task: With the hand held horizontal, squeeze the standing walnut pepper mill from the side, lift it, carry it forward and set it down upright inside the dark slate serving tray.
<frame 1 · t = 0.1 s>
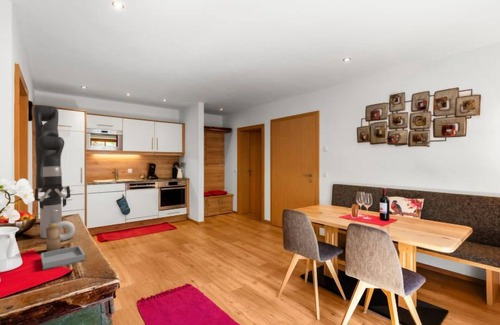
hand: (53, 207, 127), 17 cm above the table, tool pointing down, fingers open, 8 cm apart
donut: (63, 240, 130), on the table
tray: (63, 259, 104), on the table
pepper mill: (53, 250, 116), on the table
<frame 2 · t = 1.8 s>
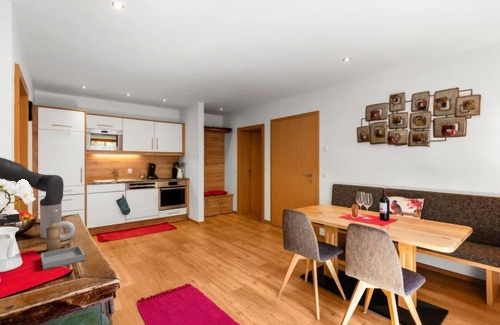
hand: (19, 217, 108), 17 cm above the table, tool horizontal, fingers open, 8 cm apart
nothing on the table moved.
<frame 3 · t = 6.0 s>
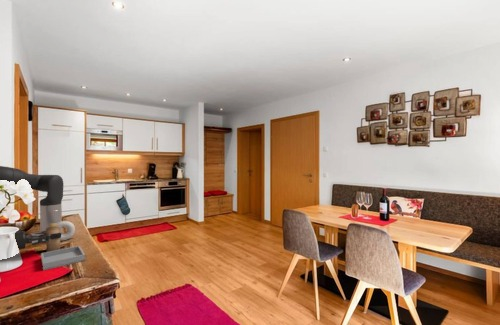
hand: (60, 233, 117), 7 cm above the table, tool horizontal, fingers closed on pepper mill, 5 cm apart
pepper mill: (53, 250, 116), on the table, touching gripper
everything else where it was.
when the fingers open (9 cm above the table, at t = 10.6 s): pepper mill drops 1 cm, resting on tray.
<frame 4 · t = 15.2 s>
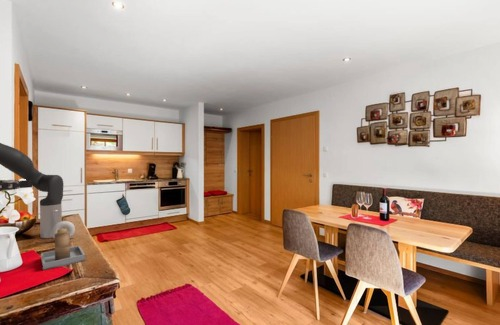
hand: (32, 183, 102), 32 cm above the table, tool horizontal, fingers open, 8 cm apart
pepper mill: (62, 258, 104), point 1 cm above the table, touching tray
everything else where it was.
at the end: pepper mill inside the target area on the tray (0.1 cm from its centre), point 0.6 cm above the tray's base; pepper mill tilted 1°; the gripper is holding nothing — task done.
